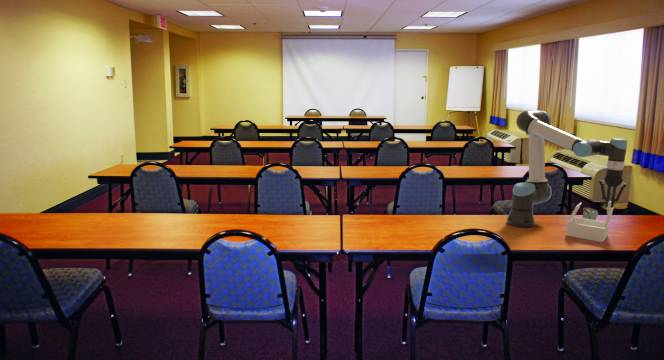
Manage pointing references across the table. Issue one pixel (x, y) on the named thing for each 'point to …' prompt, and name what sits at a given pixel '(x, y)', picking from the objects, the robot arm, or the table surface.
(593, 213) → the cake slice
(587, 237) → the carton
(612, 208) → the flap
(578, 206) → the flap
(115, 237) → the table surface
